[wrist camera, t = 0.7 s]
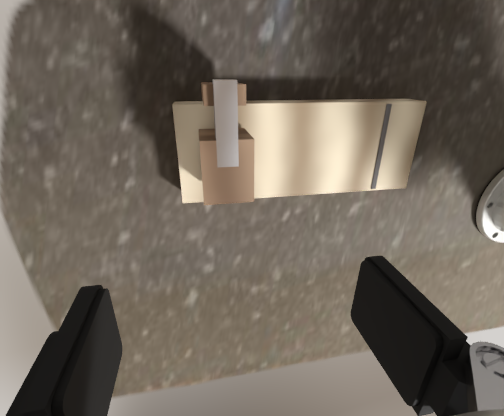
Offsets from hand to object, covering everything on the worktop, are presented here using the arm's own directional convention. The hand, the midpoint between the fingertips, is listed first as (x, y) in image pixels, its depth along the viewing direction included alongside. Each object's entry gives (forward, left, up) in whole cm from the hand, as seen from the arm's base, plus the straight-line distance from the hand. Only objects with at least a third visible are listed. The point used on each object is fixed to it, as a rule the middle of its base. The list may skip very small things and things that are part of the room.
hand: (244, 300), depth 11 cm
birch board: (-9, -1, -21) cm, 23 cm away
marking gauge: (-1, -3, -19) cm, 19 cm away
